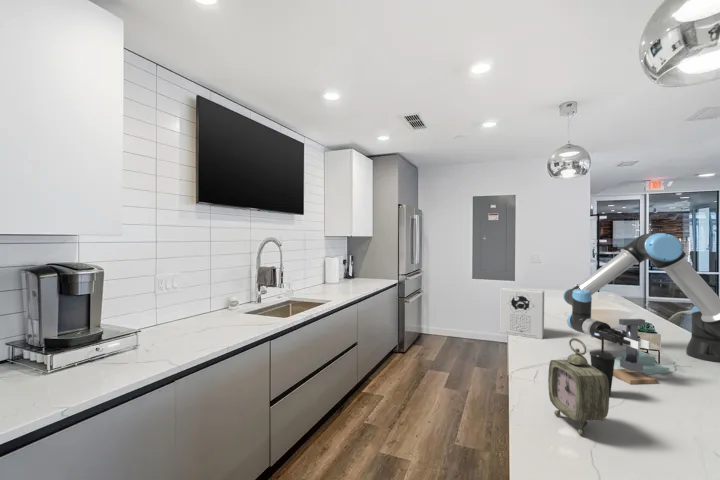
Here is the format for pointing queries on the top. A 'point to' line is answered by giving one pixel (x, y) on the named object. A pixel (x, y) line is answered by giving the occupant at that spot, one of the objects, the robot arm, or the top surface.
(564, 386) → the tabletop clock
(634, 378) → the walnut pad
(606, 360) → the drinking cup
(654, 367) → the square socket base
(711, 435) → the top surface
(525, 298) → the cereal box
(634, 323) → the t key
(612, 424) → the top surface
